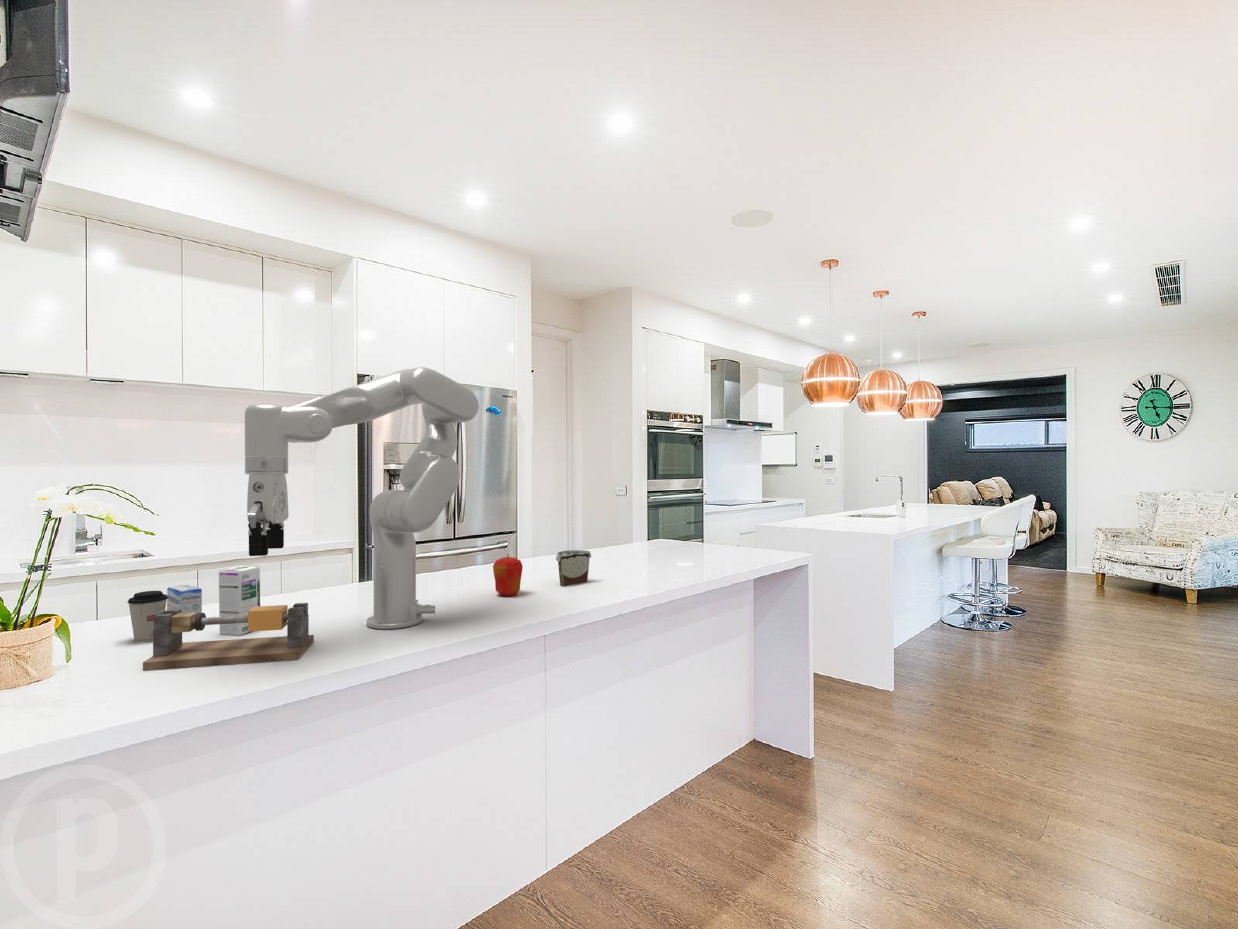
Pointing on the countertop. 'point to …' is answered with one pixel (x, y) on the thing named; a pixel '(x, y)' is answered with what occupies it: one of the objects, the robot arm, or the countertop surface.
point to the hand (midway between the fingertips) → (267, 551)
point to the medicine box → (184, 598)
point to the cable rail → (224, 641)
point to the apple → (507, 575)
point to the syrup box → (238, 596)
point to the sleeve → (267, 618)
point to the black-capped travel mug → (145, 613)
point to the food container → (573, 567)
